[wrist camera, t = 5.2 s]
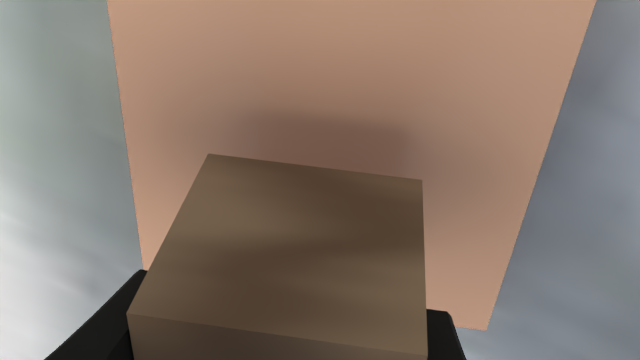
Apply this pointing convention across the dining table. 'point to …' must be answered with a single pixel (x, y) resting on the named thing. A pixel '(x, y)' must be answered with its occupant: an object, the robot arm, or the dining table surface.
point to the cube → (287, 268)
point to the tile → (356, 109)
